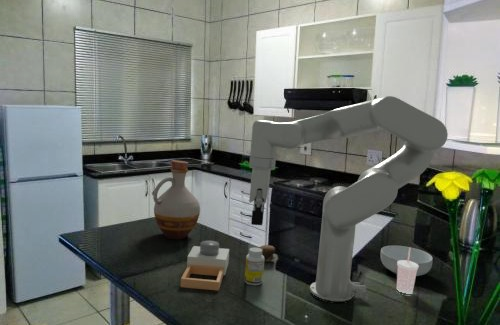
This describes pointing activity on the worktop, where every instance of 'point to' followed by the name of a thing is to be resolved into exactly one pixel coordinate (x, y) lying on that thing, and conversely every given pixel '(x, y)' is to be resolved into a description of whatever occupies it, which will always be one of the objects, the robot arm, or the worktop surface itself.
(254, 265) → the supplement bottle
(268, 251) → the mushroom
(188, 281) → the open box with knob
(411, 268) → the beverage cup
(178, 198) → the jug
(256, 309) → the worktop surface
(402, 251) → the cereal bowl
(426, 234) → the worktop surface
